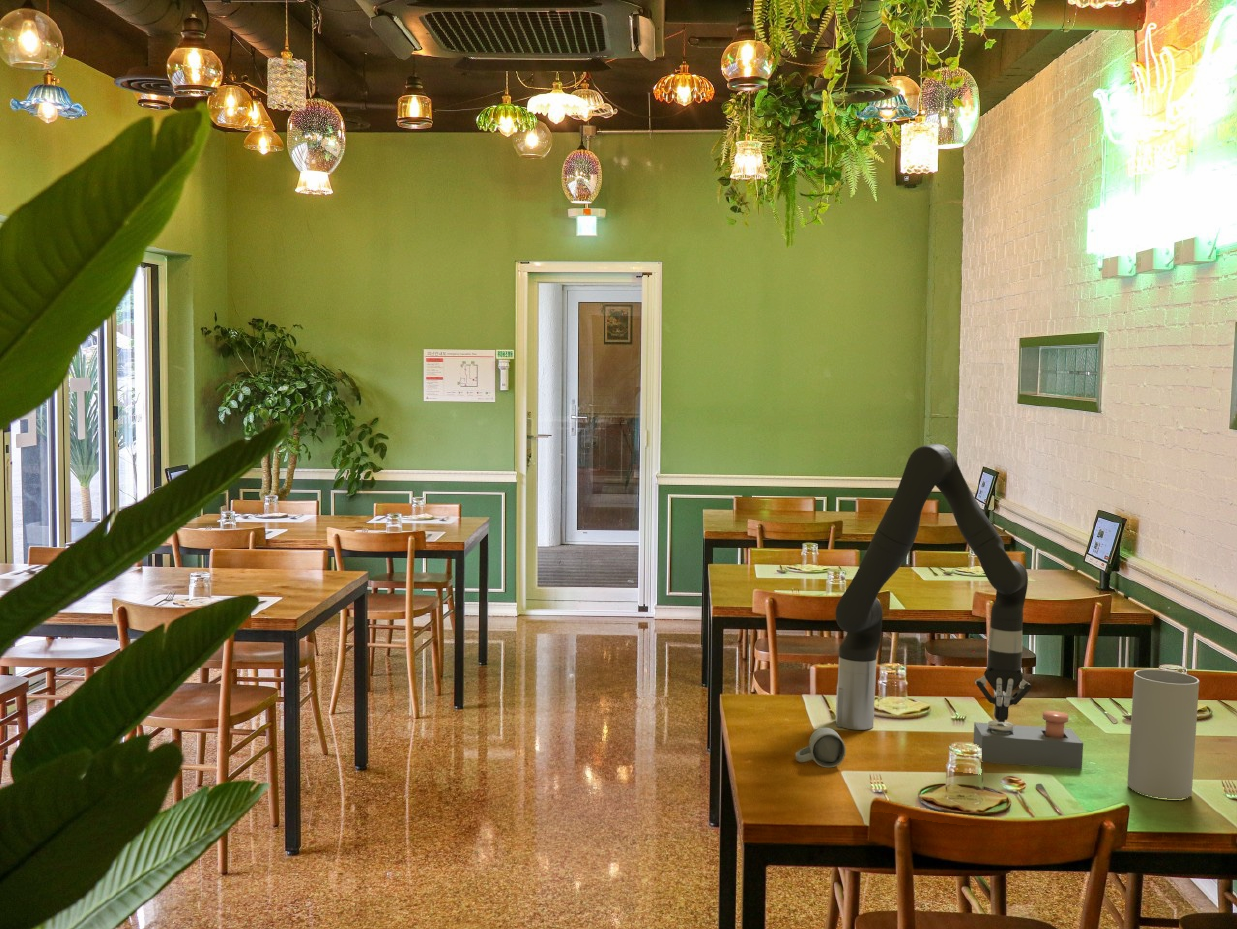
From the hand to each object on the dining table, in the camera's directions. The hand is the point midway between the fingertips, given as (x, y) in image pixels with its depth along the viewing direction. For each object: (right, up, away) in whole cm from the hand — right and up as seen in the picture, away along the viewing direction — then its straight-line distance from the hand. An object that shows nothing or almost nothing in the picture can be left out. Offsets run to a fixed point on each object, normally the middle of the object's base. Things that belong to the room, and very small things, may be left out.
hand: (1000, 721), depth 266 cm
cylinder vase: (+27, -11, -21) cm, 36 cm away
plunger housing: (+6, -8, 0) cm, 10 cm away
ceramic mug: (-43, -8, -8) cm, 45 cm away
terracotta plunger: (+12, -4, -2) cm, 13 cm away
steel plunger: (0, -7, 0) cm, 7 cm away
